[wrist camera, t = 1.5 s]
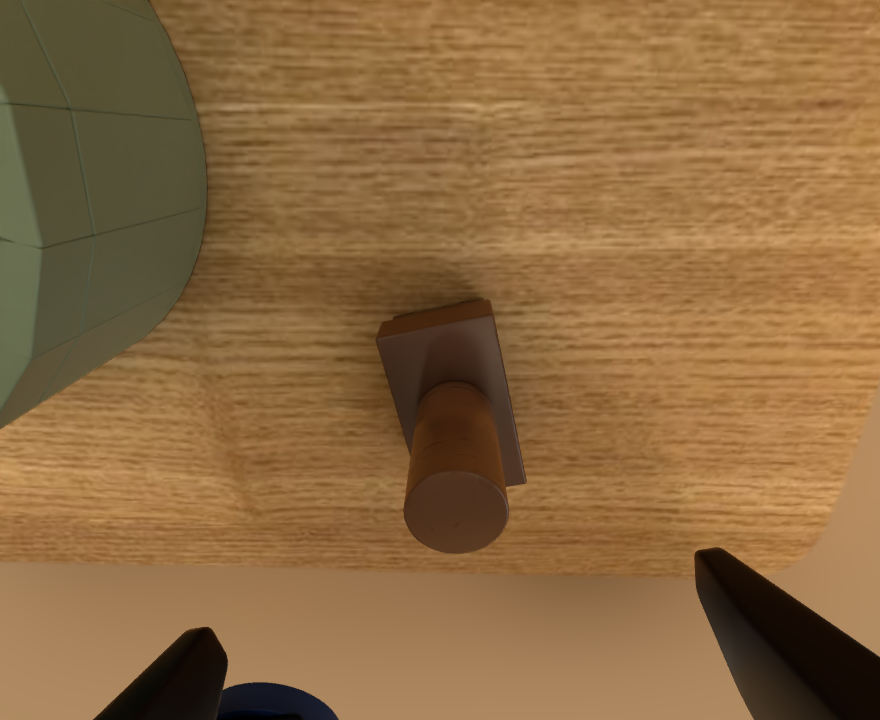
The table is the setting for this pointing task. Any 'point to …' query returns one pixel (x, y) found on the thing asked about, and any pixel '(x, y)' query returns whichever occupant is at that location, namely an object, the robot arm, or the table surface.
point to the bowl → (90, 189)
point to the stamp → (453, 423)
